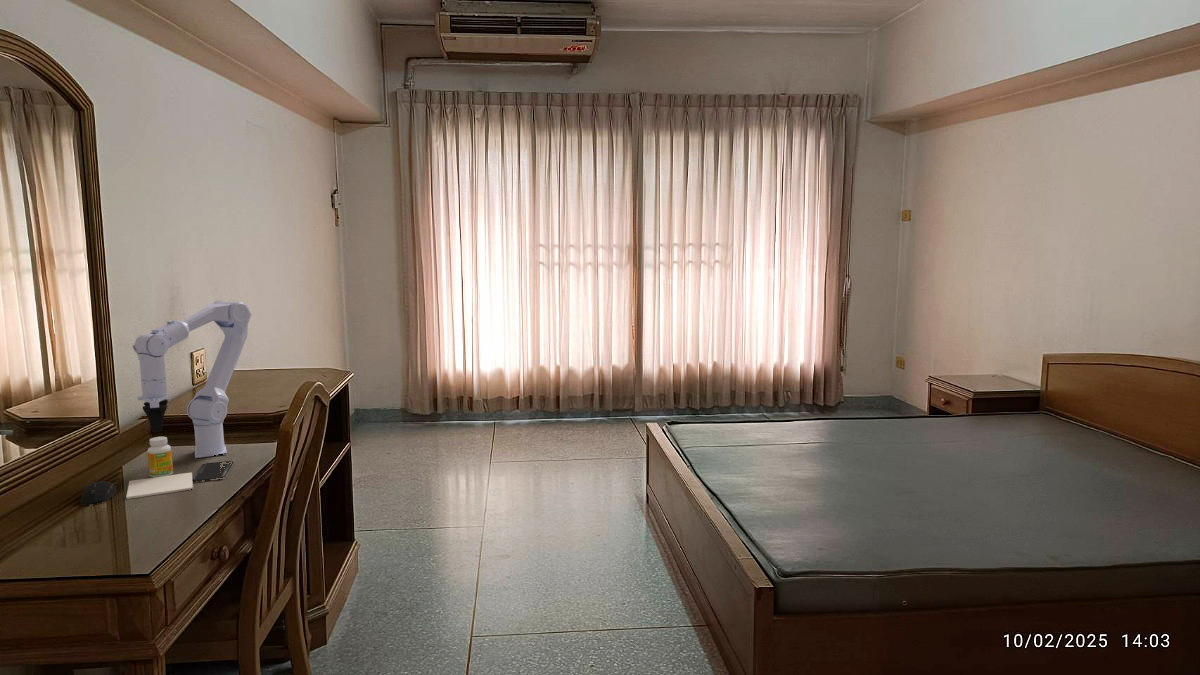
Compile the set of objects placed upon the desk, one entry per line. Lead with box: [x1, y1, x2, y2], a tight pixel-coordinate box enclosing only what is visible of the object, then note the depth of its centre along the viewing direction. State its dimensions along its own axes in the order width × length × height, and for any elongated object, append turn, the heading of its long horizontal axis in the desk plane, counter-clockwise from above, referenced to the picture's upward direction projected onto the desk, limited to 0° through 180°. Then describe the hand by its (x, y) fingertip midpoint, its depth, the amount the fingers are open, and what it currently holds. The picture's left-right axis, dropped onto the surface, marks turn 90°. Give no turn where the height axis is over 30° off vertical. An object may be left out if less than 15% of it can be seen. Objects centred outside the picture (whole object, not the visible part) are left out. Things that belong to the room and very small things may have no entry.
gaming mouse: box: [79, 480, 117, 506], centre depth 188 cm, size 6×15×4 cm, turn 19°
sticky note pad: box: [125, 471, 194, 500], centre depth 197 cm, size 14×14×1 cm
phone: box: [192, 460, 234, 483], centre depth 208 cm, size 8×1×15 cm
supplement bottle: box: [147, 436, 174, 478], centre depth 206 cm, size 5×5×10 cm
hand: (157, 429), depth 211 cm, fingers open, 5 cm apart
